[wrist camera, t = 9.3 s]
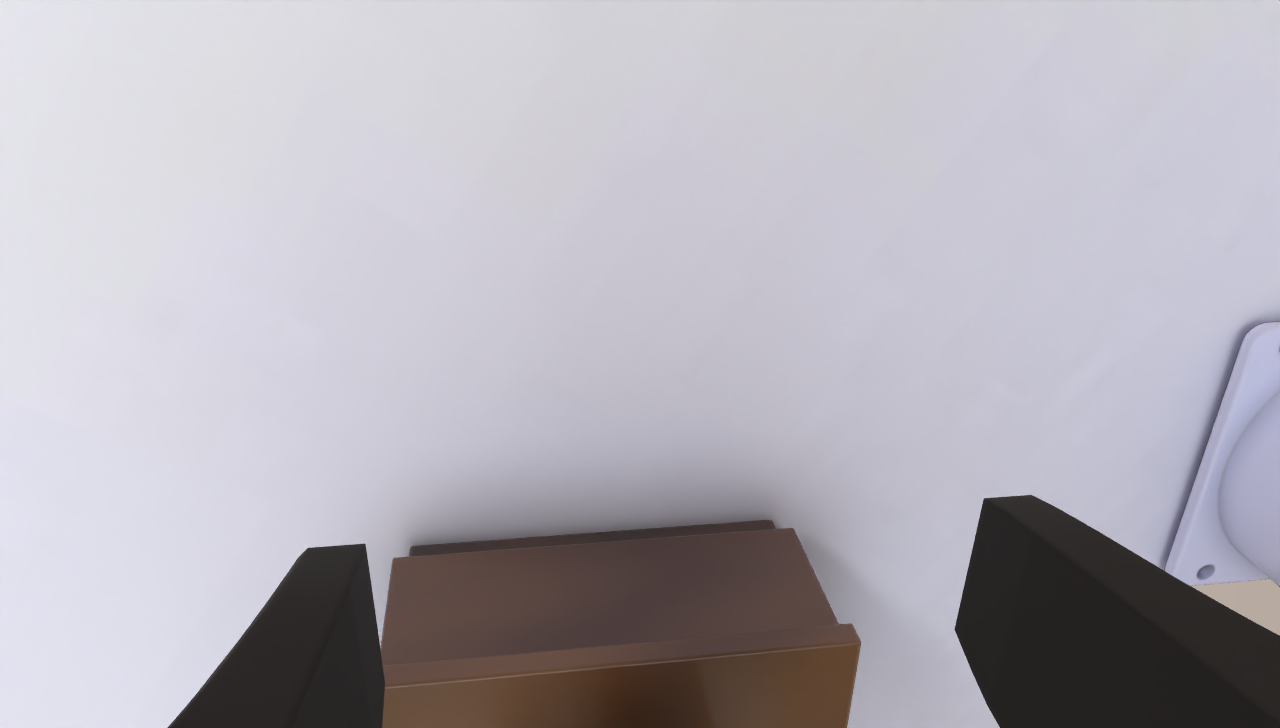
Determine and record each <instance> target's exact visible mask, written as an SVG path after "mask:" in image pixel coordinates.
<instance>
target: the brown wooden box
mask: <svg viewBox="0 0 1280 728" xmlns="http://www.w3.org/2000/svg"><path fill="white" fill-rule="evenodd" d="M860 646H861V641H860V639H859V637H858V635H857V633H856V631H855V629H854V627H853V625H852V624H838V622H837V619H836V617H835V615H834V613H833V611H832V609H831V607H830V605H829V603H828V600H827V598H826V596H825V594H824V592H823V590H822V588H821V586H820V584H819V581H818V579H817V577H816V575H815V573H814V571H813V569H812V567H811V565H810V562H809V560H808V558H807V556H806V554H805V552H804V550H803V548H802V546H801V543H800V541H799V539H798V537H797V535H796V533H795V531H794V529H793V528H785V529H775V527H774V525H773V523H772V521H771V520H762V521H748V522H735V523H721V524H708V525H694V526H681V527H667V528H654V529H640V530H627V531H613V532H600V533H586V534H573V535H559V536H546V537H532V538H519V539H505V540H492V541H478V542H465V543H451V544H438V545H424V546H413V547H411V548H410V550H409V557H401V558H393V561H392V568H391V575H390V583H389V590H388V597H387V604H386V612H385V619H384V626H383V633H382V641H381V648H380V650H381V657H382V664H383V671H384V678H385V692H384V707H383V723H382V728H847V724H848V718H849V712H850V706H851V700H852V694H853V688H854V682H855V676H856V670H857V664H858V658H859V652H860Z"/></svg>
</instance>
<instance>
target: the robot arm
mask: <svg viewBox="0 0 1280 728" xmlns="http://www.w3.org/2000/svg"><path fill="white" fill-rule="evenodd" d="M1263 579H1271V580H1273V581H1274V582H1275V583H1276V584H1277V585H1278V586H1279V587H1280V322H1270V323H1263V324H1259V325H1258V326H1256V327H1254V328H1253V329H1251V330H1250V331H1249V332H1248V333H1247V334H1246V336H1245V338H1244V340H1243V342H1242V345H1241V348H1240V351H1239V354H1238V356H1237V359H1236V362H1235V365H1234V368H1233V371H1232V374H1231V377H1230V380H1229V383H1228V386H1227V389H1226V391H1225V394H1224V397H1223V400H1222V403H1221V406H1220V409H1219V412H1218V415H1217V418H1216V421H1215V423H1214V426H1213V429H1212V432H1211V435H1210V438H1209V441H1208V444H1207V447H1206V450H1205V453H1204V456H1203V458H1202V461H1201V464H1200V467H1199V470H1198V473H1197V476H1196V479H1195V482H1194V485H1193V488H1192V491H1191V493H1190V496H1189V499H1188V502H1187V505H1186V508H1185V511H1184V514H1183V517H1182V520H1181V523H1180V526H1179V528H1178V531H1177V534H1176V537H1175V540H1174V543H1173V546H1172V549H1171V552H1170V555H1169V558H1168V561H1167V563H1166V566H1165V571H1164V570H1162V569H1160V568H1159V567H1157V566H1155V565H1154V564H1152V563H1150V562H1148V561H1147V560H1145V559H1143V558H1142V557H1140V556H1138V555H1137V554H1135V553H1133V552H1132V551H1130V550H1128V549H1127V548H1125V547H1123V546H1122V545H1120V544H1118V543H1117V542H1115V541H1113V540H1112V539H1110V538H1108V537H1106V536H1105V535H1103V534H1101V533H1100V532H1098V531H1096V530H1095V529H1093V528H1091V527H1089V526H1088V525H1086V524H1084V523H1083V522H1081V521H1079V520H1077V519H1076V518H1074V517H1072V516H1070V515H1069V514H1067V513H1065V512H1063V511H1061V510H1060V509H1058V508H1056V507H1054V506H1052V505H1050V504H1048V503H1046V502H1044V501H1043V500H1041V499H1039V498H1037V497H1035V496H1032V495H1025V496H1011V497H998V498H984V500H983V505H982V509H981V514H980V518H979V523H978V527H977V532H976V536H975V541H974V545H973V549H972V554H971V558H970V563H969V567H968V572H967V576H966V581H965V585H964V590H963V594H962V599H961V603H960V608H959V612H958V617H957V621H956V626H955V631H956V634H957V636H958V639H959V641H960V644H961V646H962V648H963V651H964V653H965V656H966V658H967V661H968V663H969V665H970V668H971V670H972V673H973V675H974V677H975V679H976V681H977V684H978V686H979V688H980V690H981V692H982V694H983V697H984V699H985V701H986V703H987V705H988V707H989V709H990V711H991V713H992V714H993V716H994V718H995V720H996V721H997V723H998V725H999V727H1000V728H1280V636H1279V635H1277V634H1275V633H1273V632H1271V631H1270V630H1268V629H1266V628H1264V627H1262V626H1260V625H1258V624H1256V623H1254V622H1253V621H1251V620H1249V619H1247V618H1246V617H1244V616H1242V615H1240V614H1238V613H1237V612H1235V611H1233V610H1231V609H1229V608H1228V607H1226V606H1224V605H1222V604H1221V603H1219V602H1217V601H1215V600H1214V599H1212V598H1210V597H1208V596H1207V595H1204V594H1203V593H1201V592H1200V591H1198V590H1196V589H1194V588H1193V587H1191V586H1196V585H1207V584H1218V583H1230V582H1241V581H1252V580H1263ZM384 692H385V678H384V671H383V664H382V657H381V650H380V643H379V636H378V629H377V622H376V615H375V608H374V601H373V594H372V587H371V580H370V573H369V566H368V559H367V552H366V545H365V544H356V545H342V546H329V547H315V548H307V549H306V550H305V551H304V552H303V553H302V554H301V555H300V556H299V557H298V559H297V560H296V562H295V563H294V565H293V566H292V567H291V569H290V570H289V572H288V573H287V575H286V576H285V578H284V579H283V580H282V582H281V583H280V585H279V586H278V588H277V589H276V590H275V592H274V593H273V595H272V596H271V597H270V599H269V600H268V602H267V603H266V604H265V606H264V607H263V608H262V610H261V611H260V613H259V614H258V615H257V617H256V618H255V619H254V621H253V622H252V623H251V625H250V626H249V627H248V629H247V630H246V631H245V633H244V634H243V635H242V637H241V638H240V639H239V641H238V642H237V643H236V645H235V646H234V647H233V648H232V650H231V651H230V652H229V654H228V655H227V656H226V657H225V659H224V660H223V661H222V662H221V664H220V665H219V666H218V667H217V669H216V670H215V671H214V673H213V674H212V675H211V676H210V678H209V679H208V680H207V681H206V683H205V684H204V685H203V687H202V688H201V689H200V690H199V692H198V693H197V694H196V695H195V696H194V698H193V699H192V700H191V701H190V702H189V704H188V705H187V706H186V707H185V708H184V710H183V711H182V712H181V713H180V714H179V715H178V716H177V718H176V719H175V720H174V721H173V722H172V723H171V725H170V726H169V727H168V728H382V723H383V707H384Z"/></svg>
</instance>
